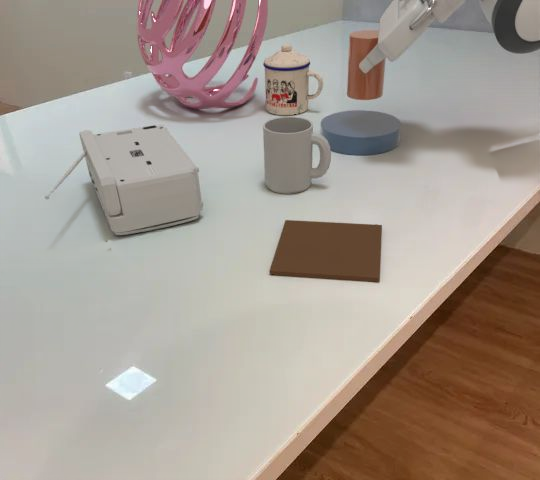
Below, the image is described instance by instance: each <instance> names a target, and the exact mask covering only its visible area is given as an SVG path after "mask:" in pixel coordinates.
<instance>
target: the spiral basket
mask: <svg viewBox="0 0 540 480" xmlns="http://www.w3.org/2000/svg"><path fill="white" fill-rule="evenodd" d="M154 1H155V0H138V3H137V9H136V36H137V43H138V47H139V52H140V55H141V58H142V60H143V63H144V64H145V66H146V67H147V69H148V70H149V72H150V73H151V74H152V77H153V79H154V80H155V82H156V83H157V85H158V86H159V87H160V89H162V91H164V92H165V93H166V94H168V95H169V96H171V97H174V98H176V99H177V101H179V103H181V104H182V105H183V106H186V107H187V108H190V109H194V110H207V109H225V110H226V109H233V108H238V107H239V106H241V105H243V104H245V103H246V102H248V100H249V99H250V98H252V97H253V95H254V93H255V91H256V88H257V86H258V83H259V82H258V81H259V79H258V77H255V78H254V80H253V82H252V84H251V87H250V89H249V91H247V93H246V94H245V96H243V97H241V99H238V100H237V101H226V100H227V99H228V97H230V96H231V95H232V94H233V93H234V92H235V91H236V90H237V88H238V87H239V86H240V85H241V84H242V83H243V82H245V80H247V79H248V78H249V76H250V75H249V74H248V73H249V71H250V70H251V68H252V66H253V64H254V62H255V61H256V58H257V55H258V54H259V51H260V49H261V46H262V43H263V40H264V36H265V32H266V29H267V23H268V17H269V0H258V3H257V13H256V14H257V15H256V18H255V24H254V27H253V31H252V34H251V37H250V41H249V43H248V46H247V48H246V50H245V53H244V54H243V56H242V59H241V60H240V62H239V64H238V65H237V68H236V69H235V71H234V72H233V74H232V75H231V76H230V78H229V79H228V80H227V81H226V83H224V84H219V85H213V86H207V85H208V84H210V82H211V81H212V80H213V78H215V76H216V75H217V74H218V72H219V71H220V70H221V69H222V67H223V65H224V64H225V63H226V60H227V58H228V57H229V56H230V53H231V52H232V49H233V48H234V45H235V43H236V40H237V38H238V35H239V33H240V30H241V26H242V23H243V20H244V15H245V11H246V5H247V0H231V7H230V11H229V15H228V18H227V21H226V24H225V26H224V30H223V32H222V35H221V38H220V40H219V41H218V43H217V44H216V47H215V49H214V51H213V52H212V54H211V56H210V57H209V59H208V60H207V62H206V63H205V64H204V66H203V67H202V68H201V69H200V70H199V71H198V73H196V74H195V75H194V76H192V77H190V76H188V75H187V74H186V73H185V71H184V70H183V66H184V64H185V63H186V62H187V61H188V60H189V59H190V58H191V57H192V55H193V54H194V52H195V51H196V50H197V48H198V46H199V44H200V43H201V41H202V39H203V38H204V36H205V34H206V31H207V29H208V27H209V25H210V22H211V19H212V16H213V13H214V10H215V6H216V2H217V0H186V2H185V0H161V1H160V5H159V6H158V10H157V12H156V14H155V12H154V11H153V10H152V6H153V4H154ZM195 13H196V14H195ZM194 14H195V17H194ZM149 17H150V22H151V27H150V28H147V26H148V22H149V21H148V20H149ZM193 18H194V19H193ZM192 19H193V20H192ZM191 21H193V22H192V23H191ZM190 23H191V25H190ZM189 25H190V27H189ZM174 26H175V27H174ZM172 28H174V31H173V33H172V37H171V41H170V45H169V48H168V46H167V44H166V40H165V39H166V36H167V35H168V34H169V33H170V31H171V30H172ZM188 28H189V29H188ZM146 45H147V46H149V56H148V52H147V49H146ZM160 54H161V60H160V58H159V56H160ZM187 97H188V98H189V97H191V98H194V99H195V100H197V101H199V102H190V101H189V100H188V99H187Z"/></svg>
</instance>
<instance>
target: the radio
mask: <svg viewBox="0 0 540 480" xmlns="http://www.w3.org/2000/svg"><path fill="white" fill-rule="evenodd" d="M79 140H80V144H81V147H82V151H83V152H82V153H81V154H80V155H79V156H78V157H77V159H76V160H75V161H74V162H73V163H72V165H71V166H70V167H69V168H68V169H67V170H66V171H65V172H64V174H63V175H62V176H61V178H60V179H59V180H58V181H57V183H56V184H55V185H54V186H53V188H52V189H51V190H50V192H49V193H48V194H45V196H44V199H45V200H49V199H50V196H51V194H53V193H54V192H55V190H57V189H58V188H59V186H60V185H61V184H62V183H63V182H64V181H65V180H66V178H68V176H70V175H71V173H73V171H74V170H75V168H77V166H78V165H79V163H80V162H82V160H83V159H85V162H86V167H87V171H88V174H89V179H90V181H91V183H92V185H93V188H94V190H95V194H96V195H97V197H98V200H99V203H100V206H101V208H102V210H103V213H104V215H105V218H106V220H107V223H108V225H109V227H110V230H111V231H112V232H113V234H115V235H116V236H125V235H132V234H137V233H143V232H148V231H154V230H158V229H164V228H168V227H173V226H176V225H177V226H178V225H180V224H184V223H189V222H191V221H195V220H197V219H198V218H199V217H200V214H201V211H203V207H204V201H202V193H201V186H200V185H201V184H200V178H199V172H200V169H199V167H198V166H196V164H195V163H194V162H193V160H192V159H191V158H190V157H189V155H188V154H187V153H186V152H185V150H184V148H182V147H181V145H180V144H179V143H178V142H177V140H176V139H175V138H174V136H173V135H172V134H171V133H170V131H169V130H168V128H167V127H165V125H164V124H160V125H158V124H152V125H145V126H140V127H134V128H128V129H121V130H115V131H109V132H103V133H97V134H94V133H93V132H92V130H89V129H88V130H87V129H85V130H81V131H79Z"/></svg>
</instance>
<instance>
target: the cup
mask: <svg viewBox="0 0 540 480" xmlns="http://www.w3.org/2000/svg"><path fill="white" fill-rule="evenodd" d="M262 131H263V132H262V137H263V139H262V140H263V167H264V183H265V185H266V187H267V188H268V189H269V191H271V192H273V193H277V194H284V195H292V194H298V193H302V192H304V191H306V190H308V189H309V188H310V186H311V185H312V182H313V181H312V180H313V179H315V180H316V179H320V178H322V177H323V176H324V175H326V174H327V173H328V170H329V169H330V166H331V162H332V151H331V150H330V146H329V143H328V141H327V140H326V139H325V137H324V136H323V135H320V133H318V132H314V123H313V122H312V121H311V120H309V119H308V118H304V117H300V116H299V117H298V116H279V117H275V118H271V119H268V120H266V121H265V122H264V123H263V124H262ZM313 145H316V146H317V147H318V151H319V161H318V162H319V163H318V164H317V166H316V167H313Z"/></svg>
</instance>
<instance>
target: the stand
mask: <svg viewBox="0 0 540 480" xmlns="http://www.w3.org/2000/svg"><path fill="white" fill-rule="evenodd" d="M402 125H403V124H402V121H401V120H400V119H399V118H398V117H396V116H394V115H392V114H389V113H387V112H381V111H378V110H377V111H375V110H367V109H366V110H365V109H364V110H363V109H356V110H355V109H353V110H344V111H338V112H334V113H331V114H328V115H326V116H325V117H323V118H322V120H321V121H320V129H319V132H320V133H319V134H320V135H323V136H324V137H325V139H326V140H327V141H328V143H329V146H330V150H331V152H334V153H338V154H344V155H351V156H372V155H379V154H383V153H387V152H390V151H392V150H394V149H396V148H397V147H398V146H399V145H400V141H401V133H402V132H401V131H402Z"/></svg>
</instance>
